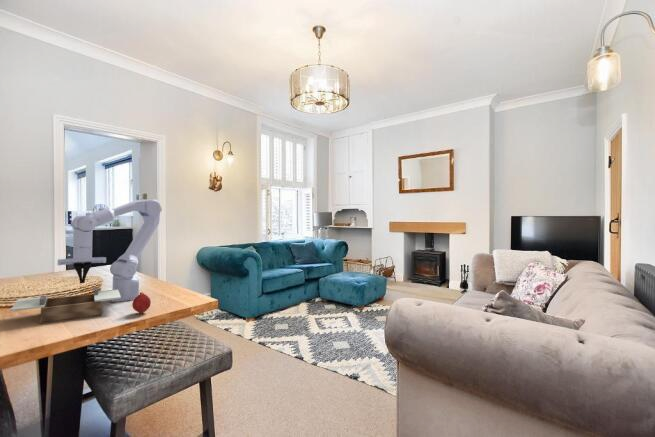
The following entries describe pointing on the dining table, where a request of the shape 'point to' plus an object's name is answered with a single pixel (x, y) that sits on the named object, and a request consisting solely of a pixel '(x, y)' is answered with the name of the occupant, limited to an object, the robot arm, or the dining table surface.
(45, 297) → the outer panel
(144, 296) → the onion
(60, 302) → the box
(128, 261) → the robot arm
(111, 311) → the dining table surface
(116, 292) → the inner panel
